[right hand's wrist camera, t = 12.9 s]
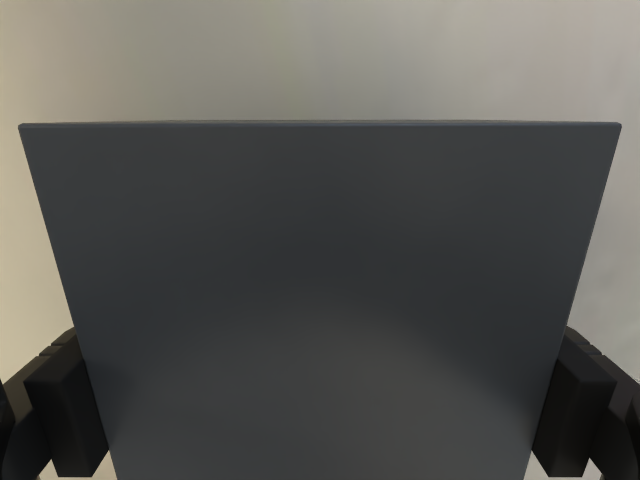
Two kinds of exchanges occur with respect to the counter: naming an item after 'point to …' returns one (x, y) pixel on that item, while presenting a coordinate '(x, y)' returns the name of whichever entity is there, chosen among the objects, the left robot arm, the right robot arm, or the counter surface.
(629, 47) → the counter surface
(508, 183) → the slab
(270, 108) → the counter surface
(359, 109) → the counter surface
